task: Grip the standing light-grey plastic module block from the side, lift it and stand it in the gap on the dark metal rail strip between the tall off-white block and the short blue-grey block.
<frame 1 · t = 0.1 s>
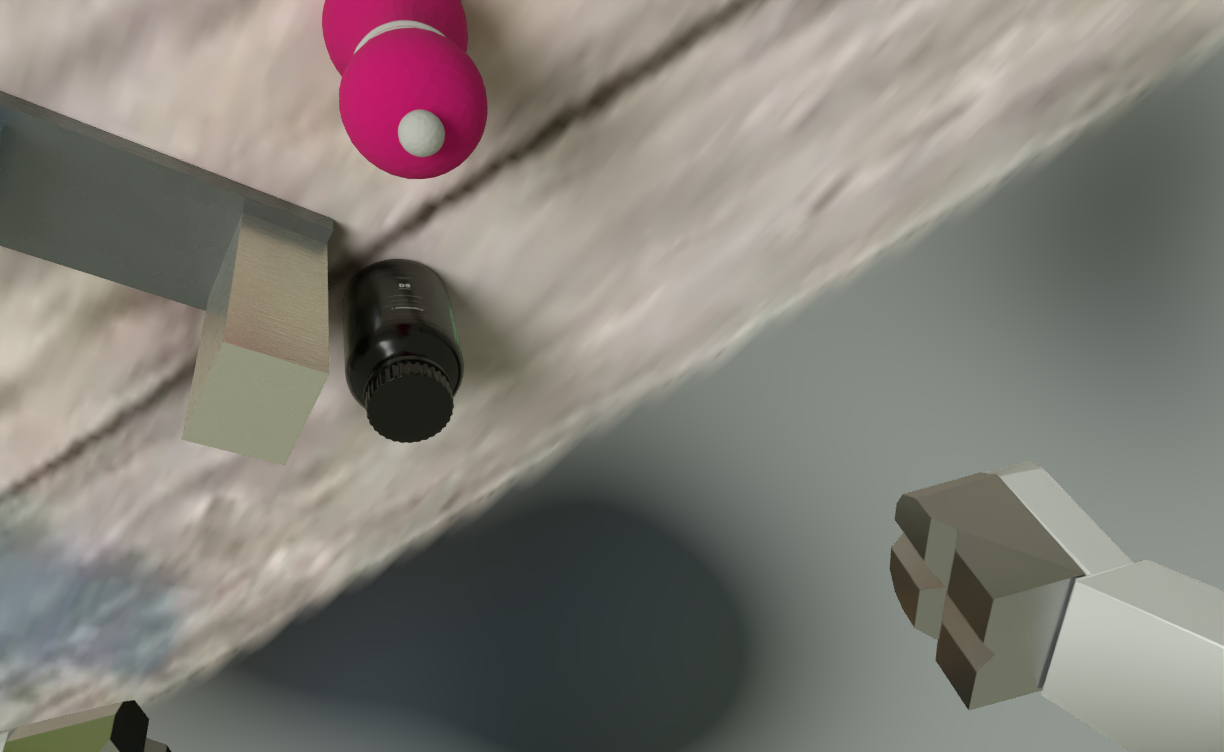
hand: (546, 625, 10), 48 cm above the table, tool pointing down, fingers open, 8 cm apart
rail: (119, 206, 53), on the table
pepper mill: (390, 8, 51), on the table
supplement bottle: (396, 300, 61), on the table
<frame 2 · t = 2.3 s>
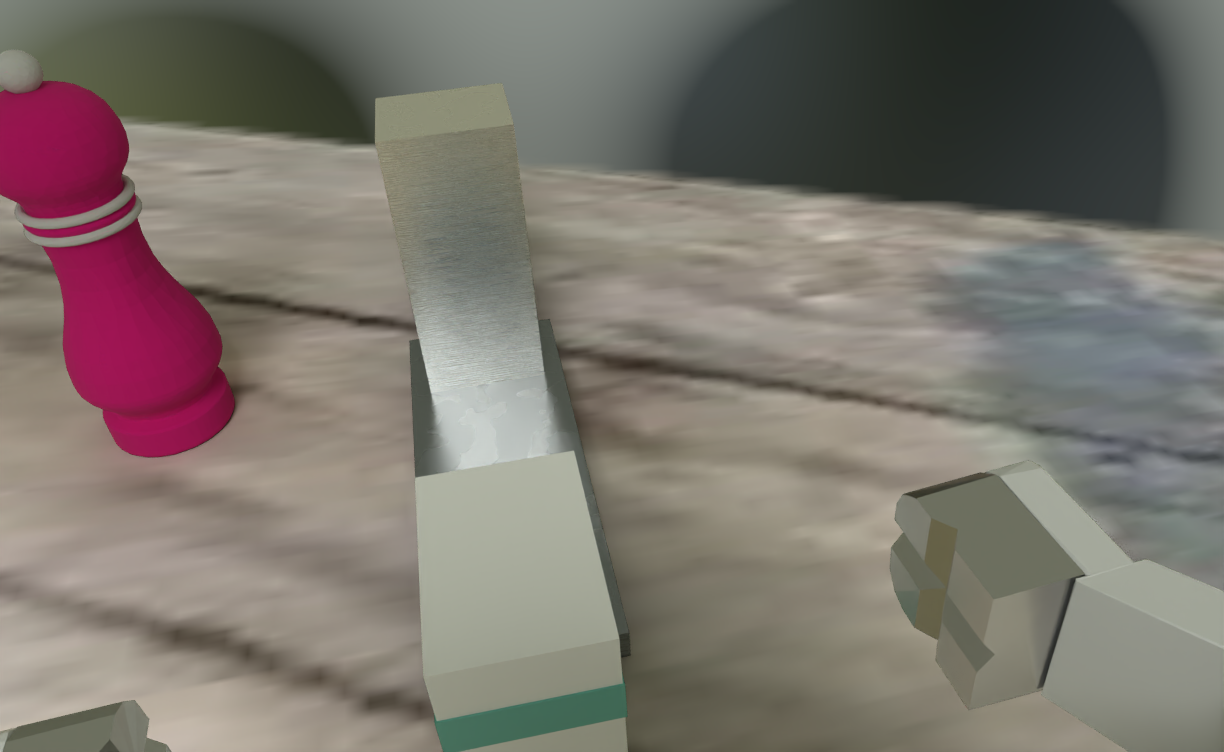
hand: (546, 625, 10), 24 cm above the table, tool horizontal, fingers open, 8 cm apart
rail: (503, 482, 45), on the table
pepper mill: (177, 421, 51), on the table
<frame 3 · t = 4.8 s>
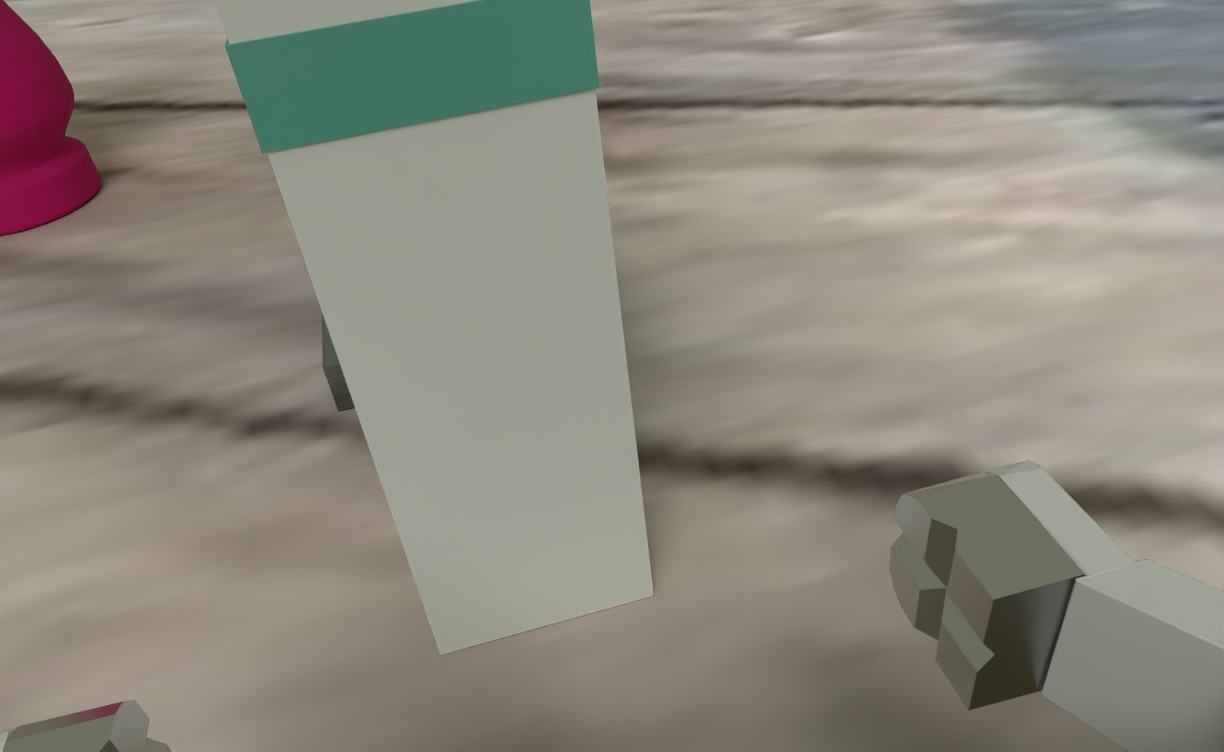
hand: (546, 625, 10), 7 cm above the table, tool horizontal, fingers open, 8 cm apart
rail: (439, 212, 35), on the table
pepper mill: (27, 208, 40), on the table
module: (521, 517, 22), on the table
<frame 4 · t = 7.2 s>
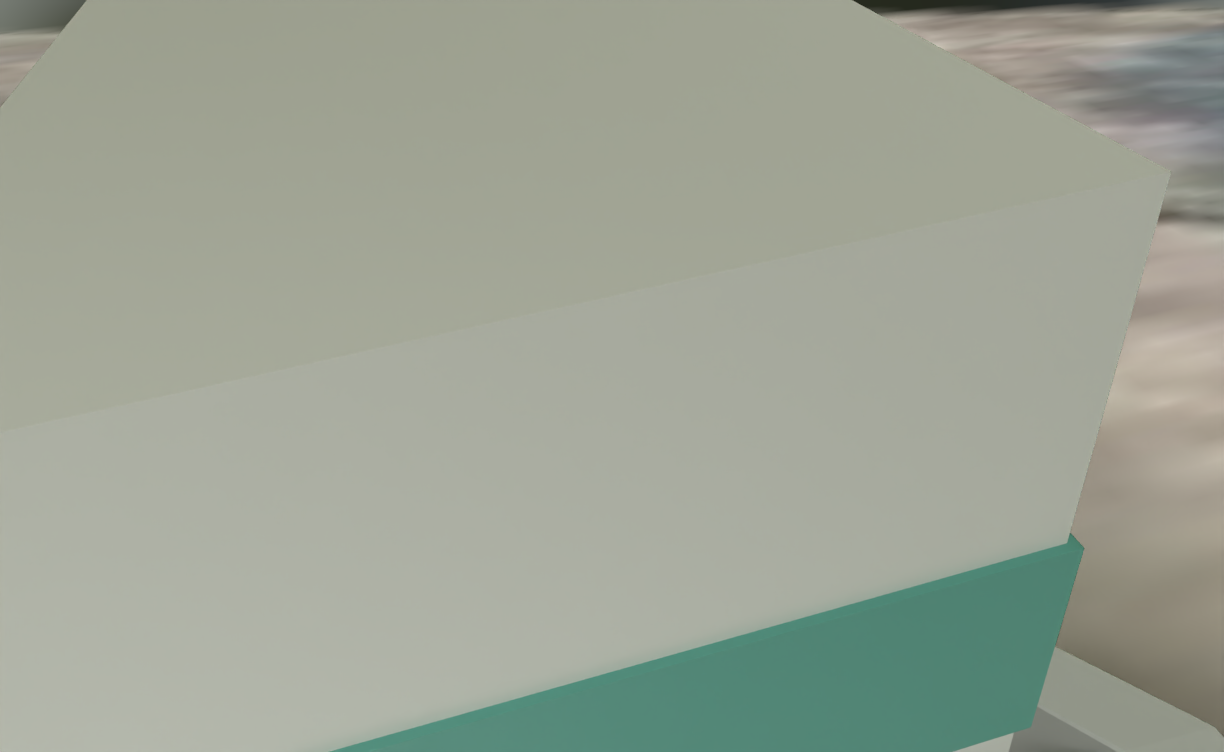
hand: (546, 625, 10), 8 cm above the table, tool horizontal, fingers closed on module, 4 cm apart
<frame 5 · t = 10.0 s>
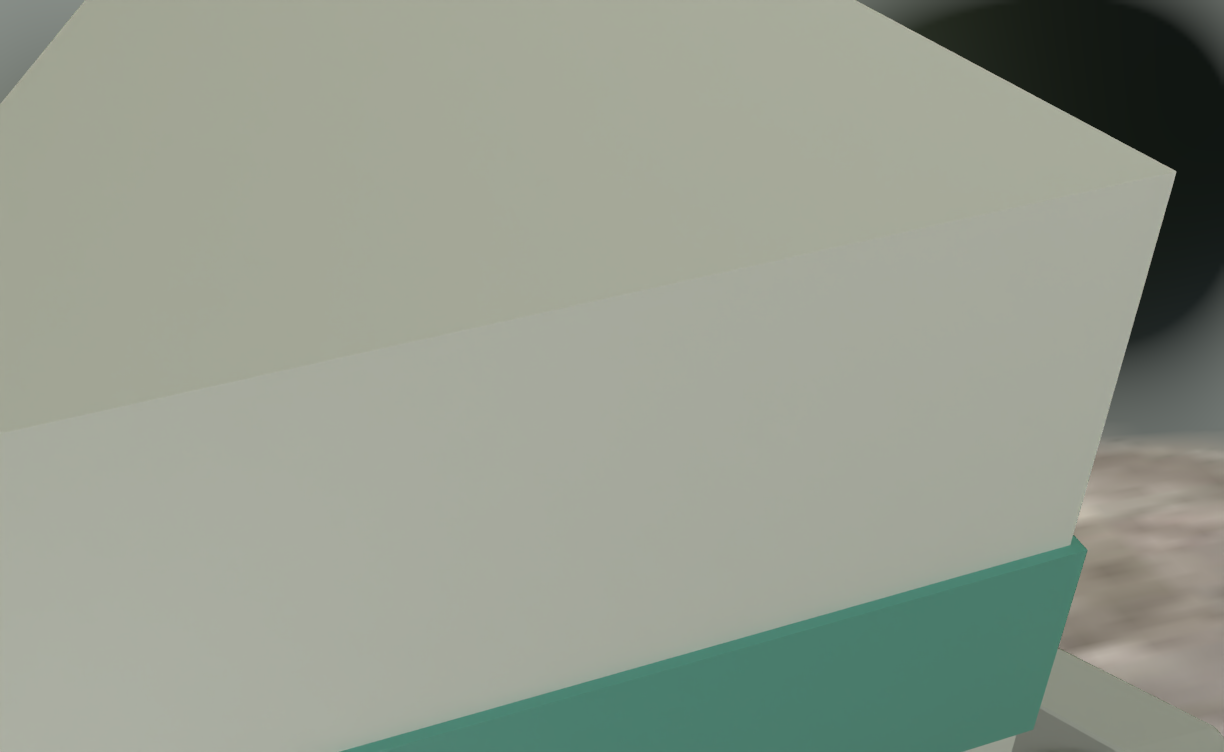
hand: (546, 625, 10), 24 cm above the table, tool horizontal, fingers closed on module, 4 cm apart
when the fingers open (10 cm above the table, at t = 13.1 s): module drops 1 cm, resting on rail.
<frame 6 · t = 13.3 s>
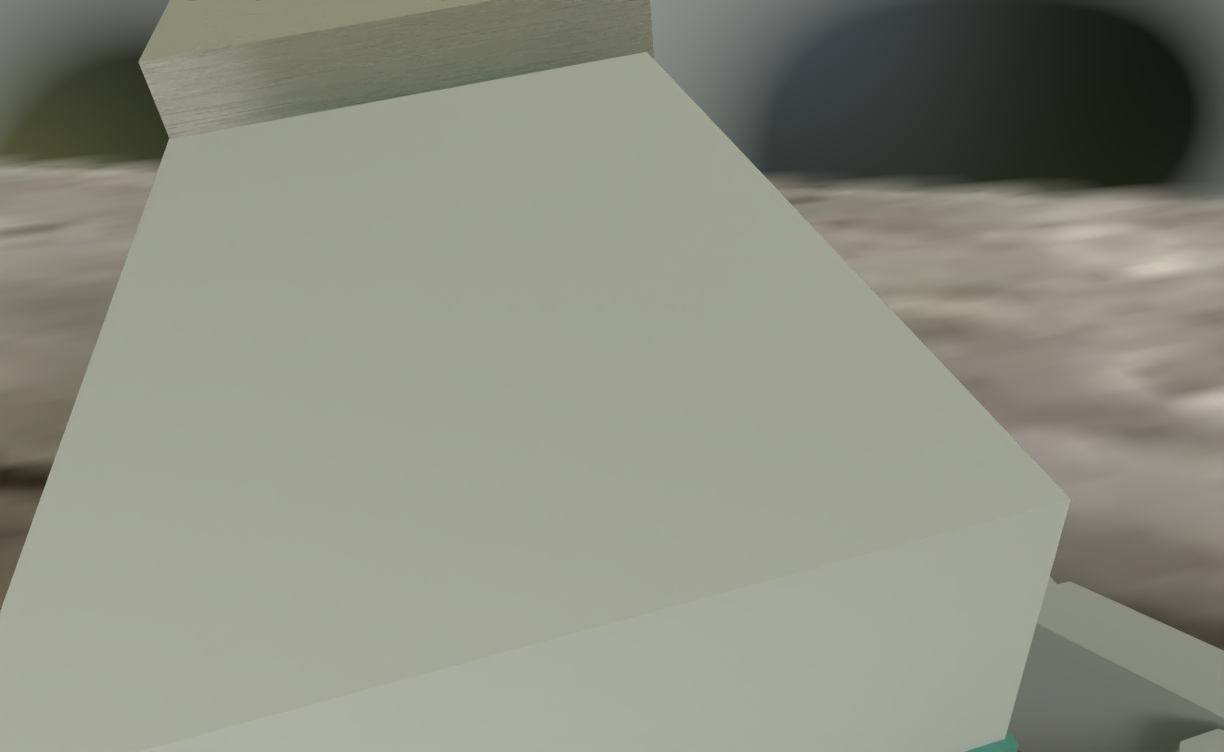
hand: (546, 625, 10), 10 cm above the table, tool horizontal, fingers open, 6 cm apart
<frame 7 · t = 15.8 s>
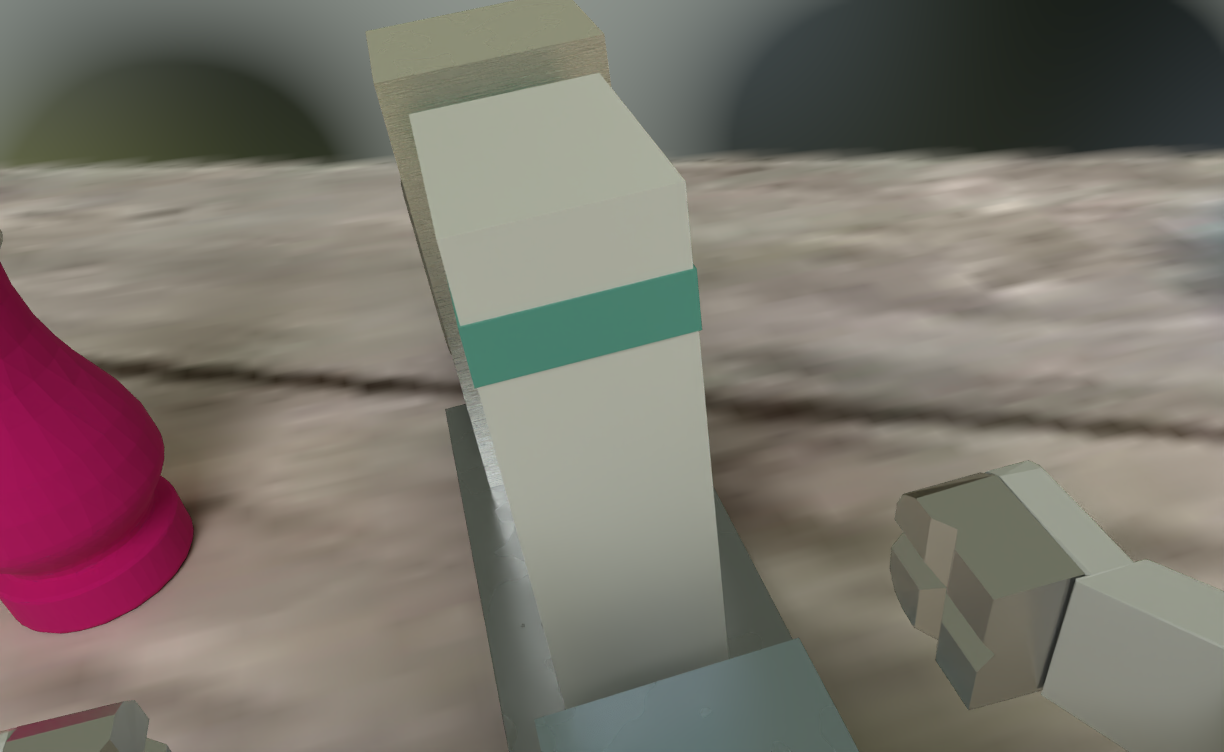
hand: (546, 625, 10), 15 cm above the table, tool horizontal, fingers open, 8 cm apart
rail: (626, 625, 28), on the table
pepper mill: (108, 567, 33), on the table
supplement bottle: (526, 341, 42), on the table
module: (617, 594, 27), point 1 cm above the table, touching rail
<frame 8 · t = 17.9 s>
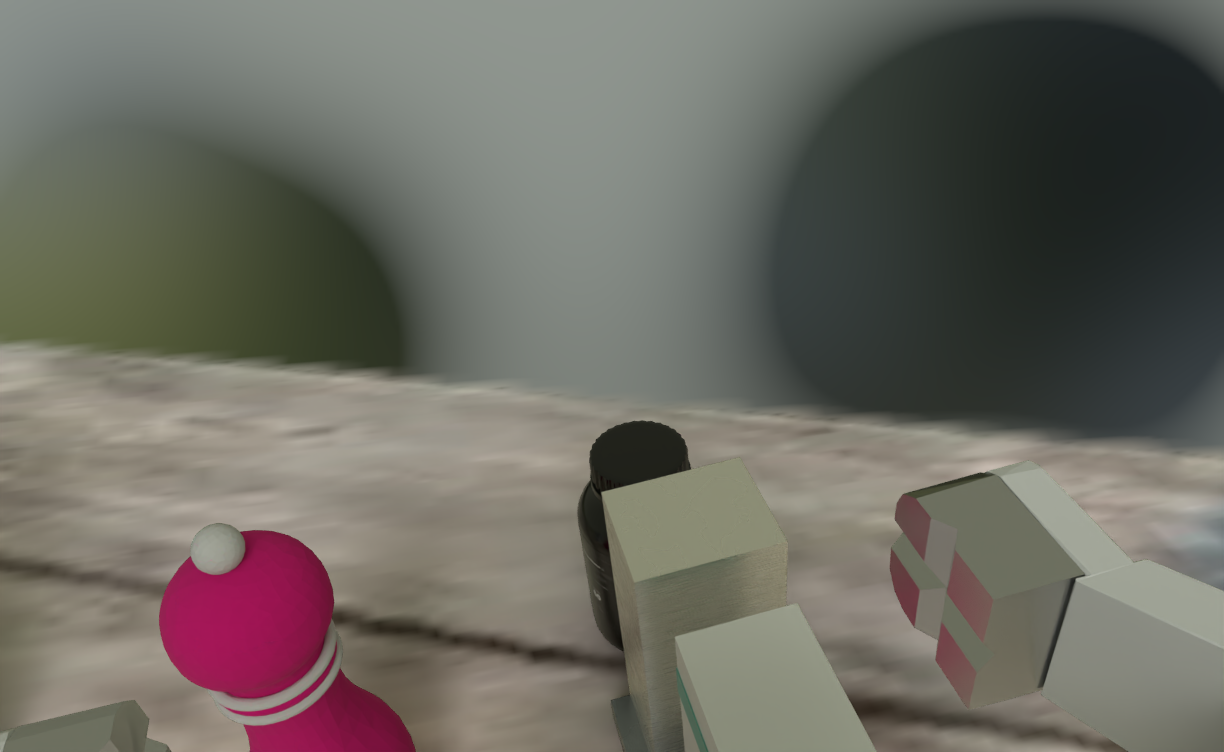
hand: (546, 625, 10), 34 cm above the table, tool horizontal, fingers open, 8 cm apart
supplement bottle: (655, 613, 52), on the table
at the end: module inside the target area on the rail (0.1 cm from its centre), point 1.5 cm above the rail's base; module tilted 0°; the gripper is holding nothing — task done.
